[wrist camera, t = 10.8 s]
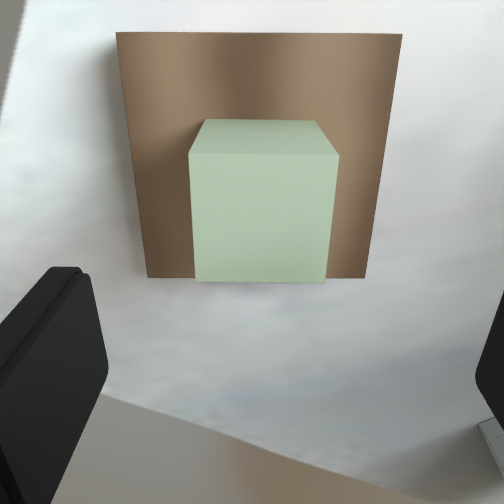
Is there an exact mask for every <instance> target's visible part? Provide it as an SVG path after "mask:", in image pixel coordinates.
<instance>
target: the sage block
mask: <svg viewBox="0 0 504 504" xmlns="http://www.w3.org/2000/svg"><path fill="white" fill-rule="evenodd" d="M188 156H189V174H190V191H191V209H192V227H193V245H194V262H195V280H196V282H252V283H325V277H326V268H327V259H328V251H329V242H330V233H331V225H332V216H333V207H334V199H335V190H336V181H337V173H338V164H339V154H338V153H337V151H336V150H335V148H334V147H333V146H332V144H331V143H330V141H329V140H328V139H327V137H326V136H325V134H324V133H323V131H322V130H321V129H320V127H319V126H318V124H317V123H316V121H312V120H247V119H205V121H204V123H203V125H202V127H201V129H200V131H199V133H198V135H197V137H196V139H195V141H194V143H193V145H192V147H191V149H190V151H189V153H188Z"/></svg>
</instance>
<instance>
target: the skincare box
mask: <svg viewBox="0 0 504 504" xmlns="http://www.w3.org/2000/svg"><path fill="white" fill-rule="evenodd" d="M479 427H480V430H481V432H482V434H483V436H484V438H485V440H486V442H487V444H488V447H489V449H490V451H491V453H492V455H493V457H494V459H495V461H496V463H497V465H498V467H499V470H500V472H501V474H502V476H503V478H504V431H503V429H502V428H501V426H500V424H499V423H498V421H497V419H496V418H493V419H490V420H488V421H485V422H483V423H480V424H479Z"/></svg>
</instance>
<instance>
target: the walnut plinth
mask: <svg viewBox="0 0 504 504" xmlns="http://www.w3.org/2000/svg"><path fill="white" fill-rule="evenodd" d="M402 35H403V34H384V33H226V32H116V40H117V47H118V55H119V62H120V70H121V78H122V85H123V93H124V100H125V108H126V116H127V123H128V131H129V139H130V146H131V154H132V161H133V169H134V177H135V184H136V192H137V200H138V207H139V215H140V222H141V230H142V238H143V245H144V253H145V261H146V268H147V276H148V278H195V262H194V245H193V227H192V209H191V191H190V174H189V156H188V153H189V151H190V149H191V147H192V145H193V143H194V141H195V139H196V137H197V135H198V133H199V131H200V129H201V127H202V125H203V123H204V121H205V119H247V120H312V121H316V123H317V124H318V126H319V127H320V129H321V130H322V131H323V133H324V134H325V136H326V137H327V139H328V140H329V141H330V143H331V144H332V146H333V147H334V148H335V150H336V151H337V153H338V154H339V164H338V173H337V181H336V190H335V199H334V207H333V216H332V225H331V233H330V242H329V251H328V259H327V268H326V277H325V278H365V273H366V267H367V261H368V254H369V248H370V241H371V235H372V228H373V222H374V215H375V209H376V203H377V196H378V190H379V183H380V177H381V170H382V164H383V158H384V151H385V145H386V138H387V132H388V125H389V119H390V112H391V106H392V100H393V93H394V87H395V80H396V74H397V67H398V61H399V54H400V48H401V42H402Z"/></svg>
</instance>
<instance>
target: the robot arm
mask: <svg viewBox="0 0 504 504" xmlns="http://www.w3.org/2000/svg"><path fill="white" fill-rule="evenodd" d="M107 375H108V359H107V354H106V350H105V345H104V340H103V336H102V331H101V326H100V321H99V317H98V312H97V307H96V302H95V298H94V293H93V288H92V283H91V279H90V276H89V275H88V274H87V273H83V272H82V270H81V269H80V268H79V267H51V268H50V269H48V271H47V272H46V273H45V274H44V275H43V276H42V277H41V279H40V280H39V281H38V282H37V283H36V284H35V285H34V286H33V288H32V289H31V290H30V291H29V292H28V293H27V294H26V295H25V297H24V298H23V299H22V300H21V301H20V302H19V303H18V305H17V306H16V307H15V308H14V309H13V310H12V311H11V312H10V314H9V315H8V316H7V317H6V318H5V319H4V320H3V321H2V323H1V324H0V504H51V501H52V499H53V497H54V495H55V492H56V490H57V488H58V486H59V483H60V481H61V479H62V477H63V475H64V472H65V470H66V468H67V465H68V463H69V461H70V459H71V457H72V454H73V452H74V450H75V448H76V445H77V443H78V441H79V439H80V437H81V434H82V432H83V430H84V427H85V425H86V423H87V421H88V419H89V416H90V414H91V412H92V410H93V407H94V405H95V403H96V401H97V399H98V396H99V394H100V392H101V390H102V387H103V385H104V383H105V381H106V378H107ZM475 379H476V384H477V386H478V389H479V390H480V392H481V394H482V395H483V397H484V399H485V400H486V402H487V404H488V406H489V407H490V409H491V411H492V412H493V414H494V416H495V417H496V419H497V421H498V423H499V424H500V426H501V428H502V429H503V431H504V292H503V295H502V298H501V301H500V304H499V306H498V309H497V312H496V315H495V318H494V321H493V323H492V326H491V329H490V332H489V335H488V338H487V341H486V343H485V346H484V349H483V352H482V355H481V358H480V361H479V363H478V366H477V369H476V373H475Z"/></svg>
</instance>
